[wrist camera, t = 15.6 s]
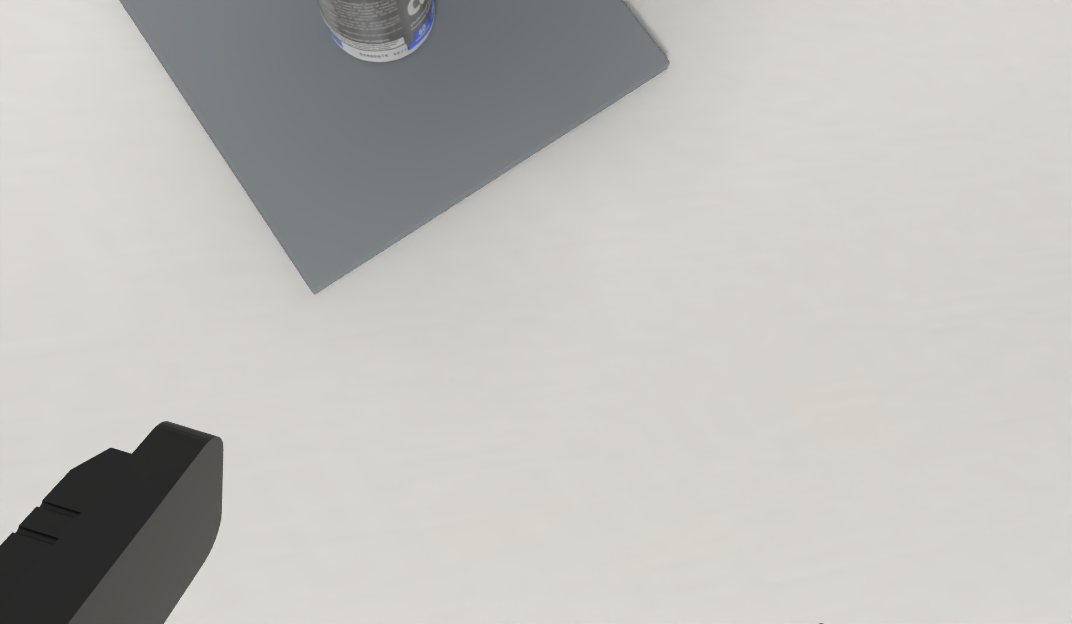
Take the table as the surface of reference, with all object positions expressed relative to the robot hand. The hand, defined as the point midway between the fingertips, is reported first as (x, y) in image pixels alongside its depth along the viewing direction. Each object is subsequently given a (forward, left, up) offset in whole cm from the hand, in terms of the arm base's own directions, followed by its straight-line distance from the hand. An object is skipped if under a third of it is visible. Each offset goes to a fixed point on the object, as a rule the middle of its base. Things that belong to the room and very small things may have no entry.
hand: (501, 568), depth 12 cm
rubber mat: (-8, -21, -24) cm, 33 cm away
